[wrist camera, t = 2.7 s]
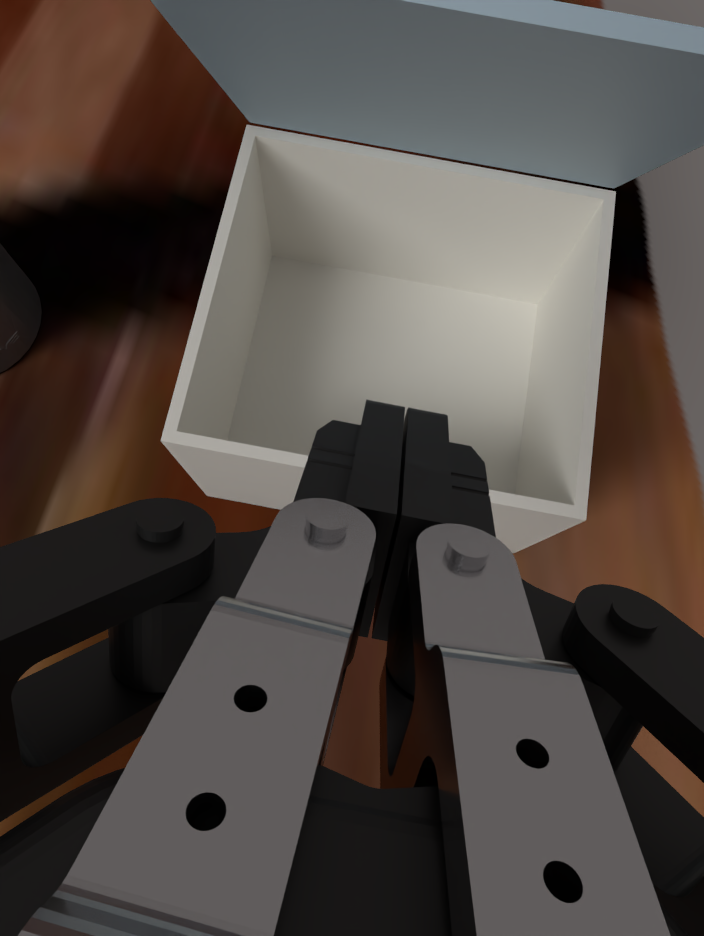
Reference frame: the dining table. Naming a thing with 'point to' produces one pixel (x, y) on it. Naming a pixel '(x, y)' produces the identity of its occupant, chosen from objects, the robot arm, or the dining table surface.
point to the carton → (397, 322)
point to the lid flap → (462, 78)
